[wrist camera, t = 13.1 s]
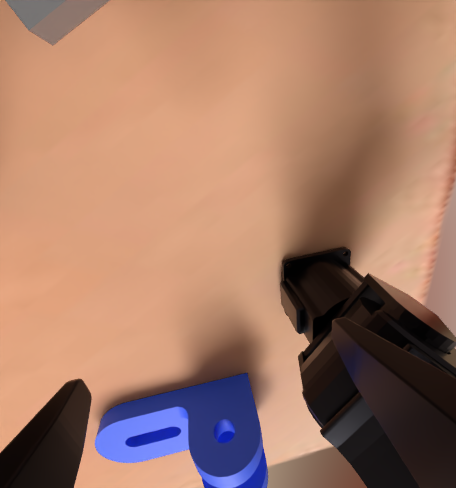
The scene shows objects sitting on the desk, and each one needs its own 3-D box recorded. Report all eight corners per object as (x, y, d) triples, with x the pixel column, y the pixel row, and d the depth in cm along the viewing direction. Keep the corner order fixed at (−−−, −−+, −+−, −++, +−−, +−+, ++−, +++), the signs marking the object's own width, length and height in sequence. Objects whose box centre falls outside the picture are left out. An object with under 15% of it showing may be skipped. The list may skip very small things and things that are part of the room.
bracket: (246, 371, 29) (270, 464, 21) (254, 413, 33) (276, 507, 25) (89, 409, 28) (49, 525, 20) (115, 449, 32) (91, 560, 23)
